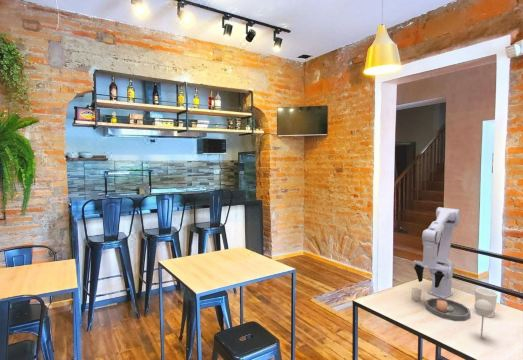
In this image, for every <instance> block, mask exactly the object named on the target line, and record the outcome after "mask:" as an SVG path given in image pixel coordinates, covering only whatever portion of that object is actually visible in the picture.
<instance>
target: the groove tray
mask: <svg viewBox="0 0 523 360" xmlns="http://www.w3.org/2000/svg"><path fill="white" fill-rule="evenodd" d="M437 300H444V301H446V302H447V314H446V313H442V312H440V311H437V310H436V307H437ZM425 309H426V310H427V311H428V312H430V313H431V315H435V316H436V317H439V318H441V319H444V320H449V321H454V322H460V321H461V322H463V321H467V320H469V319H471V310H470V308H468V307H467V306H465V305H464V304H463V303H460V302H458V301H454V300H452V299H447V298H444V299H443V298H440V297H431V298H429V299H426V300H425Z"/></svg>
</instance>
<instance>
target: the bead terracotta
mask: <svg viewBox="0 0 523 360" xmlns="http://www.w3.org/2000/svg"><path fill="white" fill-rule="evenodd" d="M436 310H437V311H440V312H442V313H446V314H447V302H446V301H444V300H437V307H436Z"/></svg>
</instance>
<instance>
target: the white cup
mask: <svg viewBox="0 0 523 360" xmlns="http://www.w3.org/2000/svg"><path fill="white" fill-rule="evenodd" d="M497 297H498V294H497V292H495V291H494V290H491V289H487V288H484V287H483V288H482V287H481V288H479V287H478V288H476V289H475V291H474V300H475V301H474V303H475V302H476V301H477V300H480V299H483V300H487V301H488V302H490V303H491V305H492V306H493V312H492V314H491V315H489V316H484V318H493V317H494V316H495V311H496V306H497ZM474 310H475V309H474ZM475 313H476V314H477V315H479V316H481V317H482V315H480V314H479V313H477V311H476V310H475Z"/></svg>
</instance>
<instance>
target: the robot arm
mask: <svg viewBox="0 0 523 360" xmlns="http://www.w3.org/2000/svg"><path fill="white" fill-rule="evenodd" d="M435 217H436V220H434V221H432V222H431V224H430V225H429V226H428V228H426V229H424V230H423V231H422V234H421V235H422V236H421V240H422V245H423V249H422V250H423V251H422V261H421V260H413V261H412V265H413V269H414V271H415V273H416V276H417V281H418V283H420V282H423V277H424V269H428V272H429V274H430V275H431V277H432V279H431V289H430V290H429V291H427V294H430V295H432V296H436V297H437V298H443V299H447V298H448V297H451V296H453V294H454V293H453V292H452V278H453V275H454V263H453V262H452V261H451V260H450V259H449V257H450V249H451V245H452V240H453V239H452V238H453V234H454V230H455V228H456V227H459V224H460V220H461V219H460V218H461V211H460V209H458V208H448V207H441V206H439V207H437V208H436V210H435Z"/></svg>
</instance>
